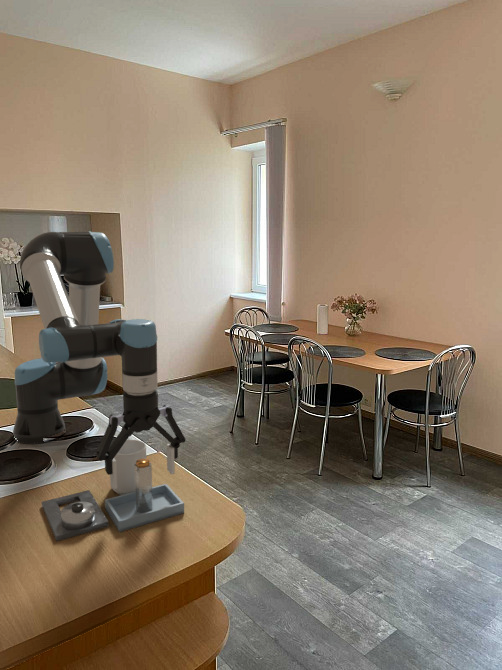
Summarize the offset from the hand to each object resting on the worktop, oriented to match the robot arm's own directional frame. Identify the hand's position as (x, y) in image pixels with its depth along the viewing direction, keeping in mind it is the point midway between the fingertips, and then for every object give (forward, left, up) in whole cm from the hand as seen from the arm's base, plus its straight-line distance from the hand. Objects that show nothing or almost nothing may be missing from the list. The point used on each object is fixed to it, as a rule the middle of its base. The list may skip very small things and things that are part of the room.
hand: (143, 478), depth 121 cm
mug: (-14, +1, -8) cm, 16 cm away
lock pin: (0, 0, -7) cm, 7 cm away
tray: (0, 0, -8) cm, 8 cm away
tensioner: (-6, -15, -8) cm, 18 cm away
